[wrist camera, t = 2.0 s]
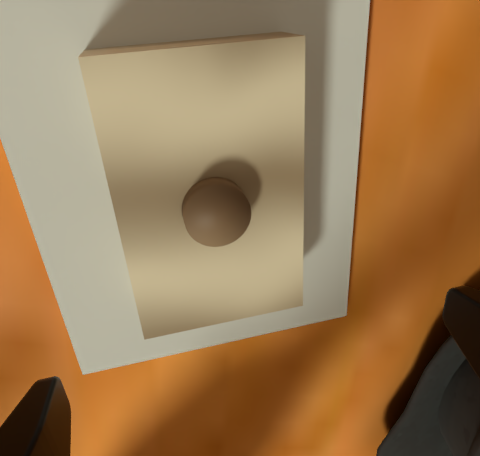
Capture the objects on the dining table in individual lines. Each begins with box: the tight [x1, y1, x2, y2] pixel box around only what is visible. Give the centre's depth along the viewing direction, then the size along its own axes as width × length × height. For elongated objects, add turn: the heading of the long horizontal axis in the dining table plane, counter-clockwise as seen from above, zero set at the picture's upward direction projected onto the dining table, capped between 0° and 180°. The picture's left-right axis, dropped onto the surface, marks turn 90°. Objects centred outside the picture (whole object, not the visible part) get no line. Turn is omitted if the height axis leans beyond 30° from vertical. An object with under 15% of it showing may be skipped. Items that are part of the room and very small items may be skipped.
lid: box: [78, 32, 305, 340], centre depth 16 cm, size 11×7×3 cm, turn 4°
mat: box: [0, 0, 370, 375], centre depth 18 cm, size 18×14×1 cm
